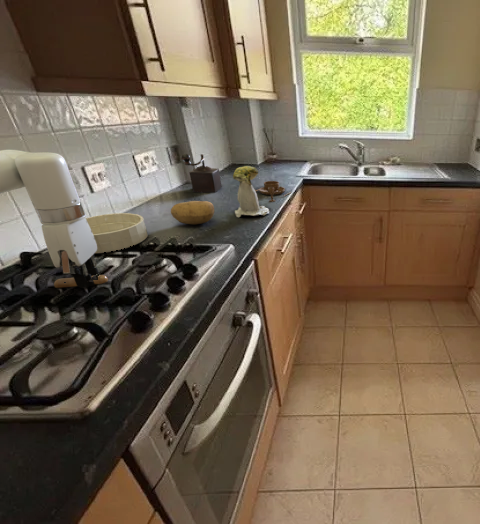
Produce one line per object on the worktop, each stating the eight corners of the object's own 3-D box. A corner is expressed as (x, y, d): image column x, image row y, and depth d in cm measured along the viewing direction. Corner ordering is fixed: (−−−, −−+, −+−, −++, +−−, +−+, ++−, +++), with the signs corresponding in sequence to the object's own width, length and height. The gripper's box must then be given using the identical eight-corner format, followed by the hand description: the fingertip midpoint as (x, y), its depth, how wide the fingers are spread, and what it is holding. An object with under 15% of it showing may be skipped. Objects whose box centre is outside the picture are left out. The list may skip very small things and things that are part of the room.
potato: (177, 220, 121) (172, 198, 118) (218, 218, 125) (215, 197, 121) (170, 229, 113) (164, 207, 109) (214, 227, 116) (210, 205, 113)
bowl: (57, 257, 92) (48, 237, 89) (88, 232, 109) (82, 214, 106) (137, 251, 97) (131, 232, 94) (155, 228, 114) (150, 211, 111)
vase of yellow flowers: (268, 218, 127) (263, 169, 119) (233, 219, 124) (225, 169, 116) (269, 208, 137) (265, 163, 129) (236, 209, 134) (229, 163, 126)
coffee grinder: (199, 187, 164) (191, 149, 156) (222, 187, 165) (216, 149, 157) (186, 195, 150) (177, 154, 142) (212, 195, 151) (204, 155, 143)
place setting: (295, 191, 162) (294, 179, 160) (274, 202, 145) (273, 189, 142) (263, 188, 166) (261, 176, 163) (239, 198, 149) (237, 185, 146)
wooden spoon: (53, 292, 77) (49, 282, 75) (60, 286, 79) (55, 277, 78) (121, 285, 80) (118, 276, 79) (125, 280, 83) (122, 271, 81)
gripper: (60, 203, 77) (87, 272, 85) (16, 227, 63) (54, 306, 72) (98, 201, 79) (121, 269, 87) (63, 224, 65) (94, 302, 74)
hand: (90, 285), depth 79 cm, fingers closed on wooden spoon, 2 cm apart
